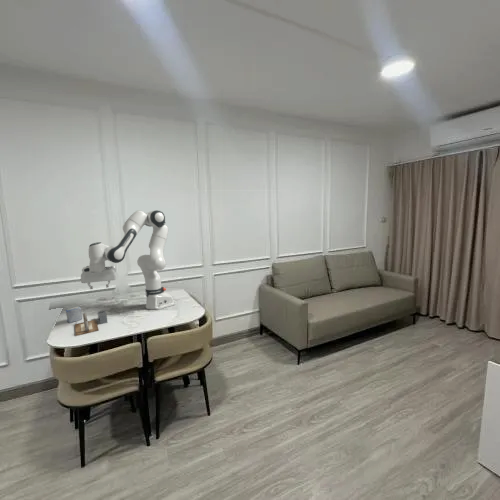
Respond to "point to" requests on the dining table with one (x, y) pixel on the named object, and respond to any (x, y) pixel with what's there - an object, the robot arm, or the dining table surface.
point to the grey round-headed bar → (102, 317)
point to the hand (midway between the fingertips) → (99, 288)
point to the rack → (86, 326)
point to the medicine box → (73, 314)
